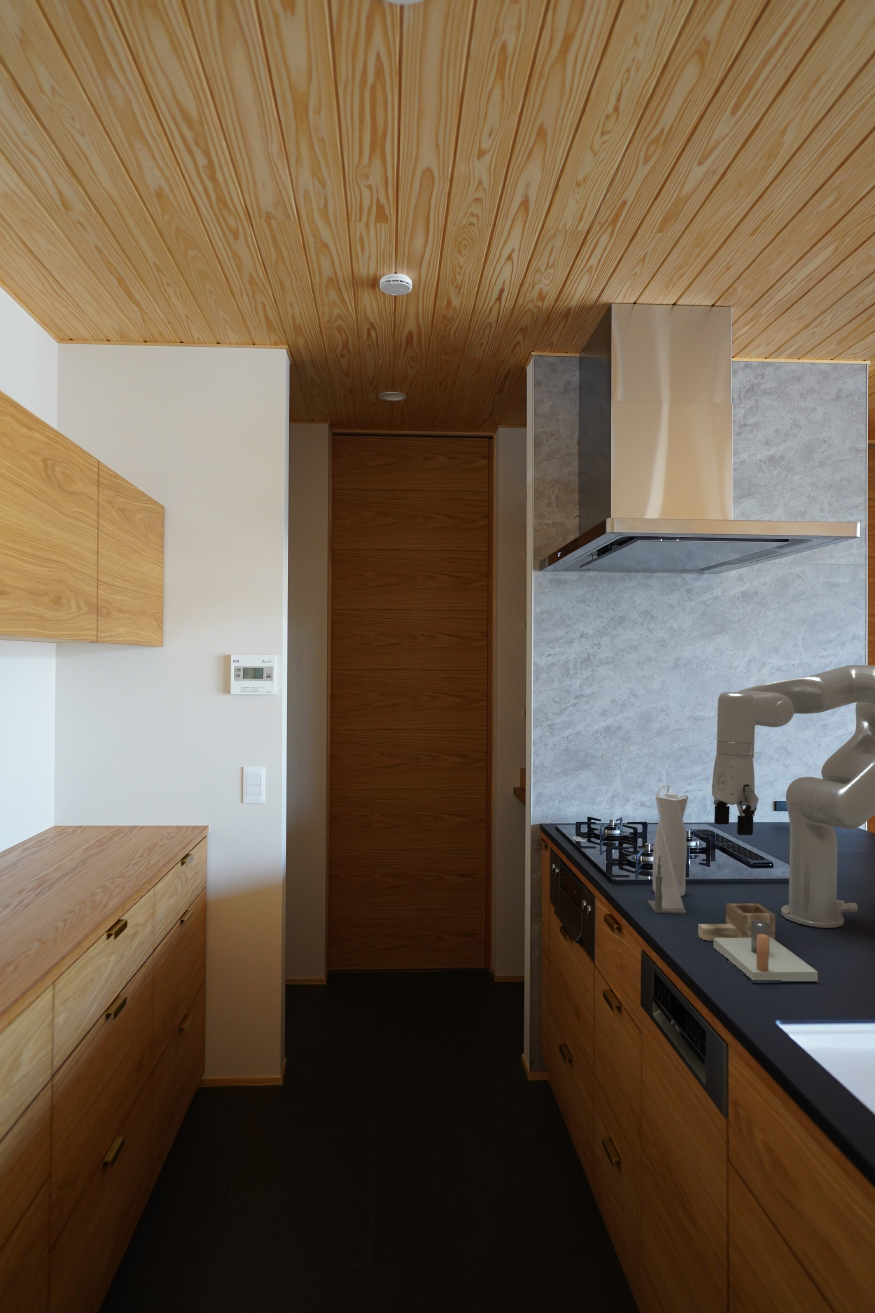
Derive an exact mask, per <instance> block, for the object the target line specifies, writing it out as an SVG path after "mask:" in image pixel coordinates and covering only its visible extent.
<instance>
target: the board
mask: <svg viewBox="0 0 875 1313" xmlns="http://www.w3.org/2000/svg"><path fill="white" fill-rule="evenodd" d="M714 948H715V949H716V950H717V952H718V951H719V952H720V953H721V954H723V955H724V956H725V957H727V958H728V959H729V960H730V961H731V962H732V963H733V964H735V965H736V966H737V967H738V968H739V969H741V970H742V971H743V972H744V973H746V975H747V976H749V977H750V978H751V979H752V980H782V981H817V982H818V976H819V974H818V971H817V970H816V969H815V968H814V967H812V966H810V965H809V964H808V963H806V961H804V960H803V959H801V958H800V957H799V956H797V955H796V954H794V953H793V952H792V951H791V950H789V949H787V947H785V946H784V945H782V944H781V943H780V942H778V941H777V940H776V939H775V940H774V939H773V938H770V946H769V965H768V971H766V972H764V971H759V970H757V969H756V959H757V954H755V953H753V952H752V951H751V938H714V940H713V949H714ZM715 949H714V950H715ZM716 950H715V951H716ZM719 952H718V953H719ZM720 953H719V954H720ZM721 954H720V955H721Z"/></svg>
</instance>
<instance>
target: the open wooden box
mask: <svg viewBox="0 0 875 1313" xmlns="http://www.w3.org/2000/svg"><path fill="white" fill-rule="evenodd" d="M753 920H761V921H765V922H768V923H769V924H770V938H773V939H774V940H776V914H774V913H773V912H772V911H770V910H768V909H767V908H766V907H764V906H763V905H761V904H760V903H757V902H756V903H753V902H752V903H748V902H747V903H742V902H741V903H726V904H725V923H698V924H697V925H698V926H697V927H698V928H697V930H698V931H697V934H698V935H697V936H698V937H699V938H700V939H701V938H702V939H703V940H707V941H714V938H751V932H752V921H753ZM702 939H701V940H702ZM703 940H702V941H703Z"/></svg>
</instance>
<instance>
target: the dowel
mask: <svg viewBox="0 0 875 1313" xmlns="http://www.w3.org/2000/svg"><path fill="white" fill-rule="evenodd" d="M768 965H769V936H767V935H765V934H757V959H756V969H757V970H759V971H764V972H766V971H768Z"/></svg>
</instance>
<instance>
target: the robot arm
mask: <svg viewBox="0 0 875 1313" xmlns="http://www.w3.org/2000/svg"><path fill="white" fill-rule="evenodd" d="M854 703H855V709H854V710H855V731H854V733H853V735H852V736H851V737H850V738H849V739H848V740H847V741H846V742H845V743H844V744H843V745H841V747H839V748H838V749H837V750H836V751H835V752H834V753H833V754H832V755H831V756H830V757H828V758H827V760H826V761H825V762H824V763H823V765H822V767H821V774H820V775H821V778H819V777H814V776H803V777H802V776H801V777H798V778H795V779H794V780H793V781H792V782H790V783H789V785H788V787H787V789H786V791H785V792H786V793H785V805H786V808H787V814H788V820H789V870H788V871H789V876H788V877H789V879H788V880H789V881H788V885H789V886H788V904H785V905H783V906H782V907H781V908H780V913H781V916H783V918H784V919H787V920H789V921H791V922H793V923H797V924H799V925H803V926H807V927H808V926H809V927H814V928H823V929H824V928H826V929H830V928H831V929H832V928H834V929H835V928H839V927H842V926H843V925H844V923H845V919H844V916H843V915H842V914H844V913H845V912H848V913H856V912H858V910H859V907H858V905H857V903H856V902H845V900H839V899H837V890H838V889H837V885H838V884H837V883H838V882H837V881H838V880H837V877H838V875H837V874H838V838H837V835H836V832H835V829H834V827H835V828H839V829H844V830H855V829H857V828H860V827H862V826H863V825H864V824H866V823H867V822H868V821H869V820H870V819H872V818H873V816H874V815H875V665H874V664H873V665H871V664H870V665H867V664H850V665H845V666H841V667H837V668H833V669H831V670H827V671H823V672H819V673H815V674H813V675H807V676H802V677H797V678H796V677H795V678H789V679H784V680H780V681H773V682H768V683H763V684H758V685H755V686H751V687H748V688H744V689H740V690H739V691H725V692H722V693H720V694H719V696H718V699H717V722H716V754H715V758H714V764H713V772H712V784H711V795H712V797H713V805H714V816H713V817H714V819H713V820H714V821H713V823H714V825H715V824H716V825H729V824H730V806H729V805H731V806H734V805H736V808H737V810H738V814H737V825H736V828H737V829H736V834H737V835H739V836H753V833H754V817H756V816H755V815H756V811H757V809H758V808H757V806H758V804H759V797H758V796H757V794H756V793H755V792H756V788H755V787H756V786H755V784H756V782H755V781H756V780H755V767H754V766H755V765H754V758H755V735H756V733H755V732H756V731H755V730H756V726H761V727H767V728H780V727H784V726H785V725H787V724H788V723H790V722H791V721H792V719H793V718H794V715H798V714H799V715H801V714H802V715H806V714H807V715H808V714H819V713H824V712H828V711H831V710H834V709H837V708H841V707H844V706H847V705H852V704H854Z"/></svg>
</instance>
